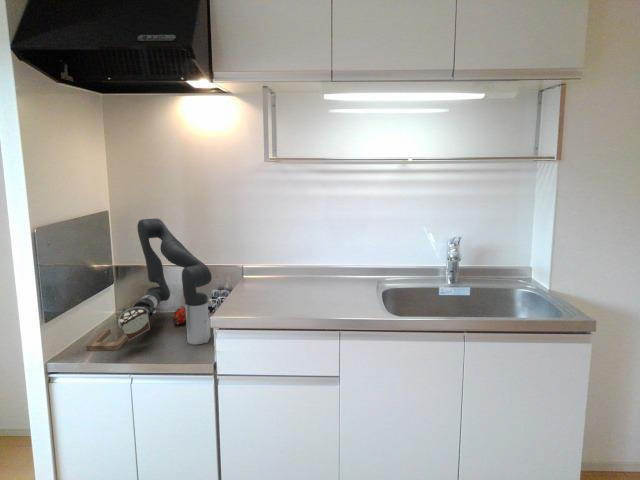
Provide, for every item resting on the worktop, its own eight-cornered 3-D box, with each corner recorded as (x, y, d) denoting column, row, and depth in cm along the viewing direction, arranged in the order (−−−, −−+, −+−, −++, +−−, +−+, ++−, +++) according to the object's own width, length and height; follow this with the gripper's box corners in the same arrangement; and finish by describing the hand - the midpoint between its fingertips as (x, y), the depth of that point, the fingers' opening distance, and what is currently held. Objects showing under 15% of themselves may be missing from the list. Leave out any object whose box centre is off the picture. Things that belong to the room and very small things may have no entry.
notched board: (134, 332, 198) (134, 328, 198) (117, 350, 181) (117, 345, 180) (106, 333, 198) (105, 328, 198) (86, 350, 180) (86, 346, 180)
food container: (145, 320, 187) (140, 301, 181) (153, 327, 183) (148, 308, 178) (117, 335, 179) (111, 316, 174) (125, 343, 175) (118, 324, 170)
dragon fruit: (193, 321, 216) (177, 333, 206) (180, 310, 217) (164, 322, 207) (200, 310, 212) (183, 322, 202) (187, 299, 213) (170, 310, 203)
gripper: (128, 297, 193) (111, 311, 176) (161, 297, 193) (148, 310, 177) (130, 314, 194) (113, 329, 177) (163, 313, 195) (149, 328, 178)
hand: (131, 319), depth 177 cm, fingers closed on food container, 5 cm apart
